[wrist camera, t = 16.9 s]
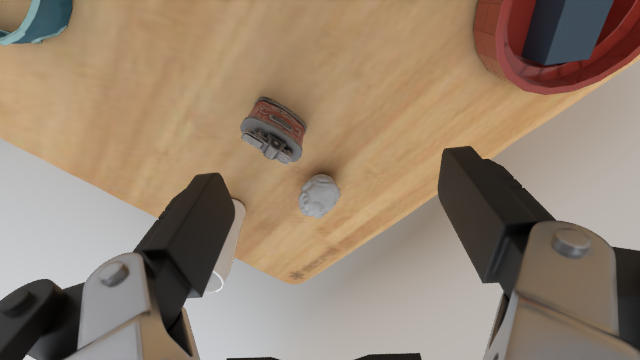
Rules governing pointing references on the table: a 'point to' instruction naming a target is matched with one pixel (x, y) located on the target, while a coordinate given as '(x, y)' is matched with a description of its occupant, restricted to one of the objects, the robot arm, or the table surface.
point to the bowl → (506, 62)
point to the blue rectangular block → (564, 30)
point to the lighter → (274, 131)
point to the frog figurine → (318, 196)
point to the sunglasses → (40, 22)
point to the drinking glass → (227, 251)
